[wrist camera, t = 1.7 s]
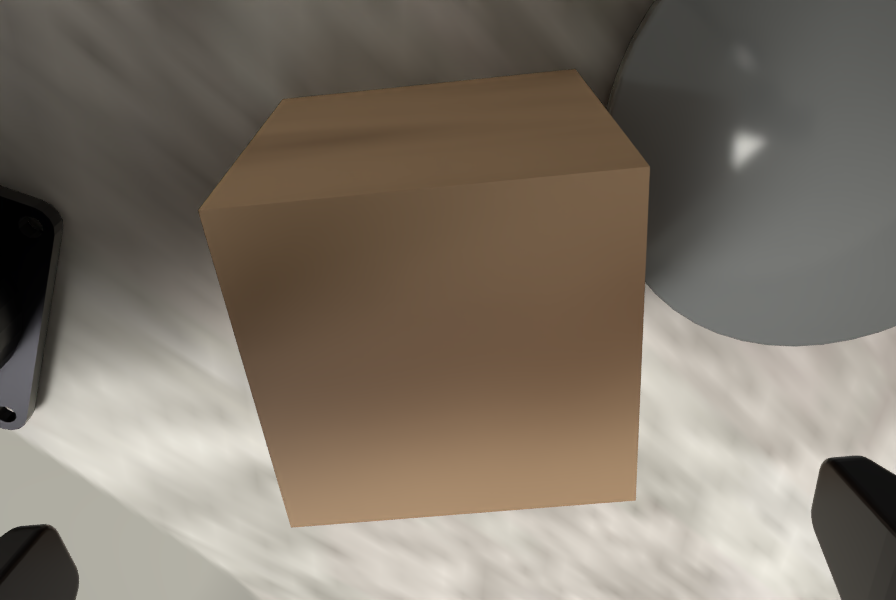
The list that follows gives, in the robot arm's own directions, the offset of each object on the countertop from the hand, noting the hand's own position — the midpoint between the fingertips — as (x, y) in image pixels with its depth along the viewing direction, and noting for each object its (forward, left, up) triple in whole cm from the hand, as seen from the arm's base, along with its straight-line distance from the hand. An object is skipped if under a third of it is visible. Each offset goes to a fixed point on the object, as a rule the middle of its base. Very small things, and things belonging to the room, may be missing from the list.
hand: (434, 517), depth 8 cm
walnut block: (0, 0, -9) cm, 9 cm away
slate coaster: (+5, -7, -9) cm, 12 cm away
